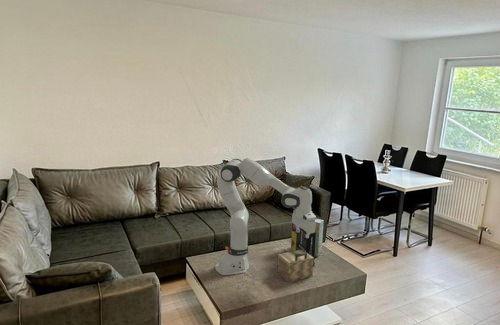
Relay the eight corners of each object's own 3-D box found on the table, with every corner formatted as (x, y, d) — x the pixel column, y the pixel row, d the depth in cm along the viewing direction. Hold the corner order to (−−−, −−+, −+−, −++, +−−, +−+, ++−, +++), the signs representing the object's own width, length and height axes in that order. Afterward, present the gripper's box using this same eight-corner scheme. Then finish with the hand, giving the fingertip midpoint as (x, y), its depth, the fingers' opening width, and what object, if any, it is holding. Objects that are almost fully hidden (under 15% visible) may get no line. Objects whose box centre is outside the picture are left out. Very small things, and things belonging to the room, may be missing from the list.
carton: (288, 282, 215) (289, 264, 212) (277, 272, 226) (278, 255, 224) (312, 276, 222) (313, 258, 220) (300, 267, 234) (301, 250, 232)
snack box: (322, 253, 255) (324, 219, 250) (317, 257, 248) (320, 223, 243) (295, 245, 266) (296, 213, 261) (290, 250, 259) (291, 216, 254)
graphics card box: (314, 266, 235) (317, 228, 230) (305, 267, 233) (307, 229, 228) (303, 255, 251) (305, 219, 246) (294, 256, 249) (296, 220, 244)
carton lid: (289, 263, 212) (289, 256, 211) (278, 255, 224) (278, 248, 223) (313, 258, 220) (314, 251, 219) (301, 250, 231) (302, 243, 231)
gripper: (289, 208, 219) (288, 229, 222) (309, 219, 201) (307, 242, 204) (298, 207, 222) (297, 228, 224) (318, 217, 204) (316, 240, 206)
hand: (302, 234), depth 214 cm, fingers open, 8 cm apart
